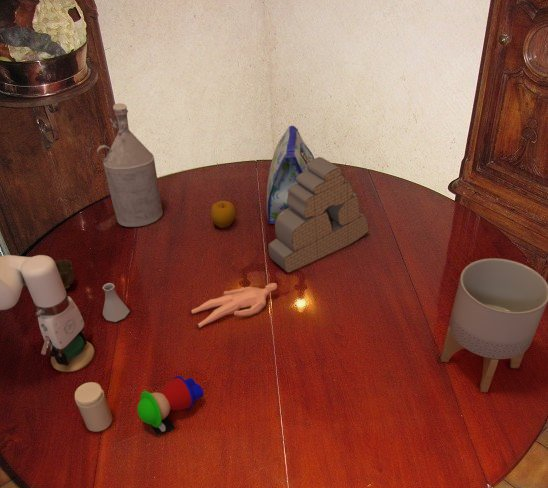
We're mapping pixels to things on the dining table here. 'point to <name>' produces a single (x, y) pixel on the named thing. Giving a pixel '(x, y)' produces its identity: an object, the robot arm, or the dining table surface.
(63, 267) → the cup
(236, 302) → the male figurine
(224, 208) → the apple
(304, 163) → the lunch bag
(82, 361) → the coaster
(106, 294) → the flask
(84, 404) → the beige cylinder
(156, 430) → the toy figure
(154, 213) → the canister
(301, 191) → the ruin
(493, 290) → the planter
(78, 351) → the jar lid
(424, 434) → the dining table surface
